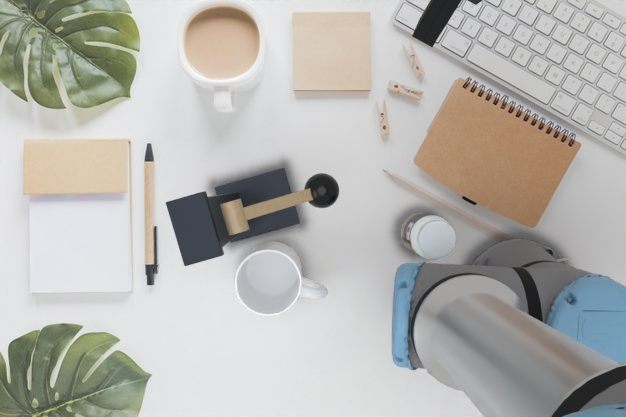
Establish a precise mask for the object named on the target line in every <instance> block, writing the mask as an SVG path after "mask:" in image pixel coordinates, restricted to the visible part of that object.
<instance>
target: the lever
mask: <svg viewBox="0 0 626 417" xmlns="http://www.w3.org/2000/svg"><path fill="white" fill-rule="evenodd" d="M339 196H340V186H339V183H338V182H337V180H336V178H335V177H333V176H332V175H330V174H329V173H323V172H320V173H316V174H313V175H312V176H310V177H309V178H308V179H307V180H306V181H305V184H304V188H303V189H302V190H299V191H295V192H291V194H288V195H285V196H281V197H278V198H274V199H271V200H267V201H264V202H261V203H257V204H254V205H250V206H247V207H244V208H243V205H242V201H241V199H237V200H233V201H230V202H226V203H223V204H220V207H221V210H222V214H223V217H224V221H225V224H226V228H227V231H228V234H229V235H234V234H237V233H241V232H244V231H247V230H249V226H248V222H247V220H249V219H252V218H256V217H259V216H262V215H265V214H269V213H272V212H275V211H278V210H282V209H285V208H288V207H291V206H295V207H296V206H298V205H301V204H305V203H307V202H308V204H310V206H312V207H314V208H317V209H326V208H329V207H331V206H333V205H334V204H335V203H336V202H337V200H338V198H339Z"/></svg>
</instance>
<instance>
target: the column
mask: <svg viewBox="0 0 626 417" xmlns="http://www.w3.org/2000/svg"><path fill="white" fill-rule="evenodd" d="M237 199H240V196H239V193H238V192H236V193H229V194H223V195H217V194H216V195H211V196H210V195H209V196H208V193H207V190H206V191H204V190H203V191H199V192H196V193H193V194H190V195H189V194H188V195H185V196H182V197H178V198H175V199H172V200H167V201H165V207H166V209H167V212H168V216H169V219H170V222H171V225H172V229H173V233H174V237H175V240H176V242H177V245H178V249H179V253H180V257H181V259H182V263H183V266H184V267H188V266H191V265H194V264H198V263H202V262H206V261H210V260H212V259H216V258H220V257H222V256H224V255H225V251H224V247H226V245H227V244H229V243H231V242H230V241H231V240H232V239H233V238H235V237H236V236H237V235H238V234H240V233H237V234H234V235H229V234H228V231H227V228H226V224H225V221H224V217H223V214H222V210H221V207H220V204H223V203H226V202H230V201H233V200H237Z"/></svg>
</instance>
